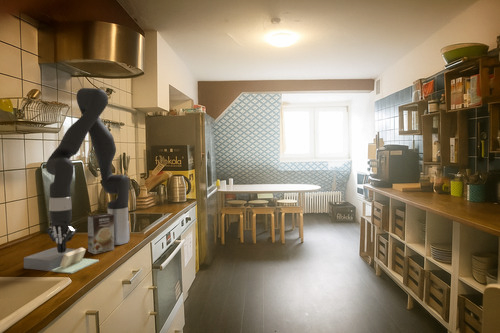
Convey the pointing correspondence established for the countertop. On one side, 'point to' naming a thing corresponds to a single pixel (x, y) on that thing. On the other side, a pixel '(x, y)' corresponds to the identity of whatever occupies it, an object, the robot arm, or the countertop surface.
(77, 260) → the tile
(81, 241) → the countertop surface
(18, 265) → the countertop surface
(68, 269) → the mat
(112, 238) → the coffee box
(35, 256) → the grey flat block
